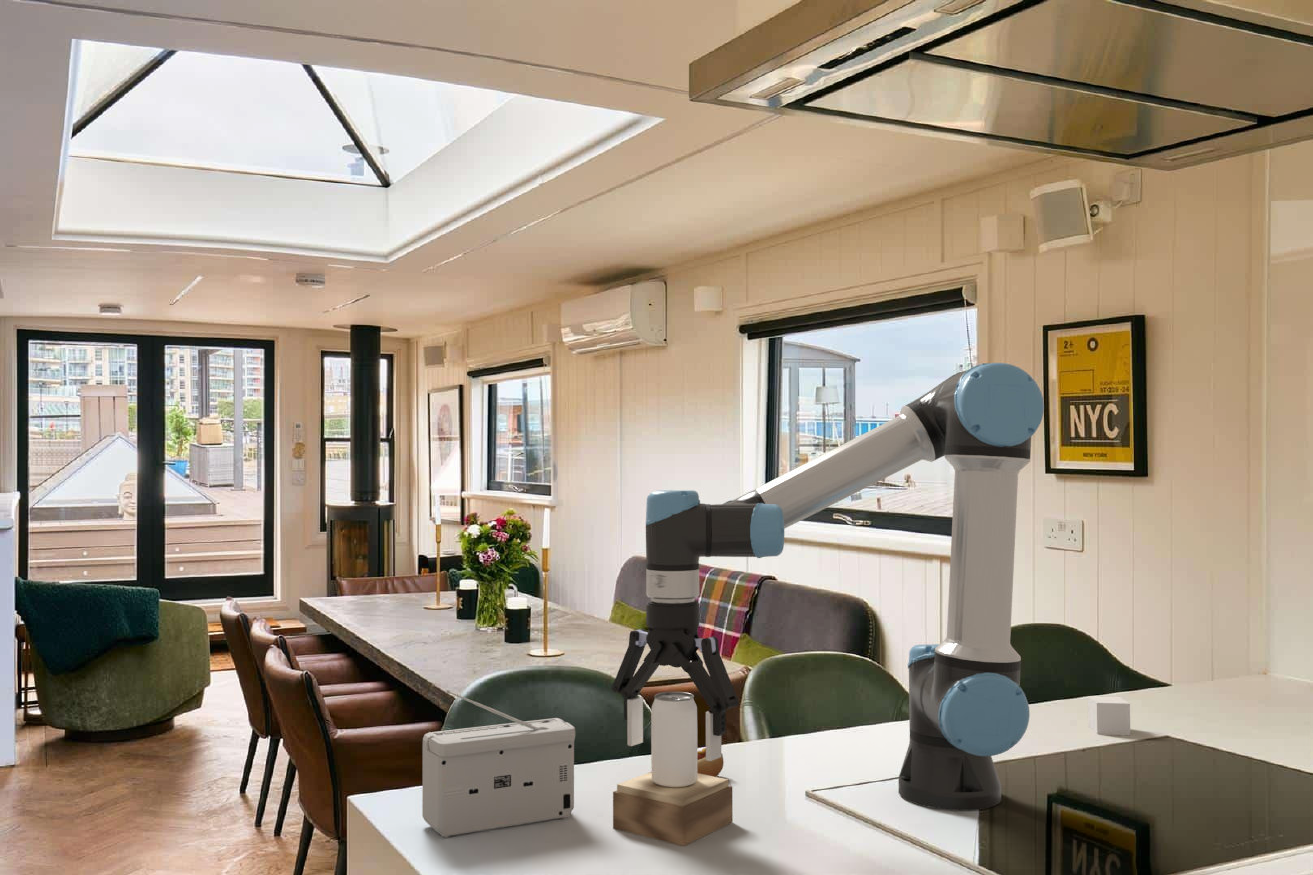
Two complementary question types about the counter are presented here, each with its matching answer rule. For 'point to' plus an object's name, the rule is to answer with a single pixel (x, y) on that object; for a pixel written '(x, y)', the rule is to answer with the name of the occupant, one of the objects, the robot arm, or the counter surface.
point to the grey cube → (1109, 715)
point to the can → (674, 740)
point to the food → (708, 764)
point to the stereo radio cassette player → (497, 774)
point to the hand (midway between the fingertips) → (673, 751)
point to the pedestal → (672, 808)
